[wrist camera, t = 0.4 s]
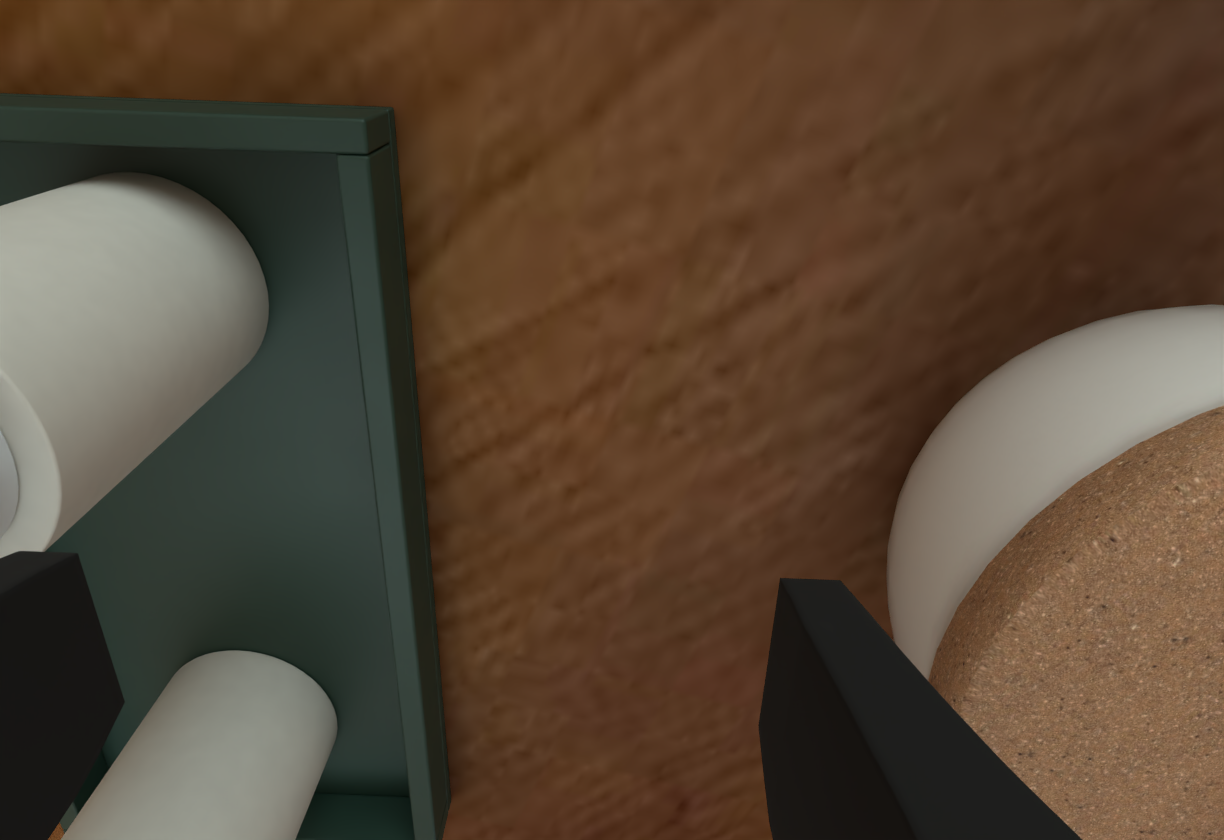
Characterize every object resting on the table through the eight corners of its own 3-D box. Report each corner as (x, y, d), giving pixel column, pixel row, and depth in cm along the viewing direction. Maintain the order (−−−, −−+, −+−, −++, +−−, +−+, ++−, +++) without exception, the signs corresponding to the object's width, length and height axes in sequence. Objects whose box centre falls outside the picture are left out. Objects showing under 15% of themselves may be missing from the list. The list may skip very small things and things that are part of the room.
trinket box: (1428, 412, 18) (2128, 765, 10) (1054, 708, 22) (1314, 1138, 14) (1086, 122, 15) (1626, 256, 7) (736, 517, 20) (814, 900, 11)
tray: (451, 799, 24) (437, 859, 22) (106, 786, 24) (67, 844, 23) (394, 106, 16) (365, 118, 14) (-140, 88, 16) (-234, 97, 14)
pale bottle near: (285, 392, 18) (53, 647, 11) (74, 384, 18) (-296, 634, 11) (249, 175, 16) (-66, 313, 9) (12, 167, 16) (-496, 296, 9)
